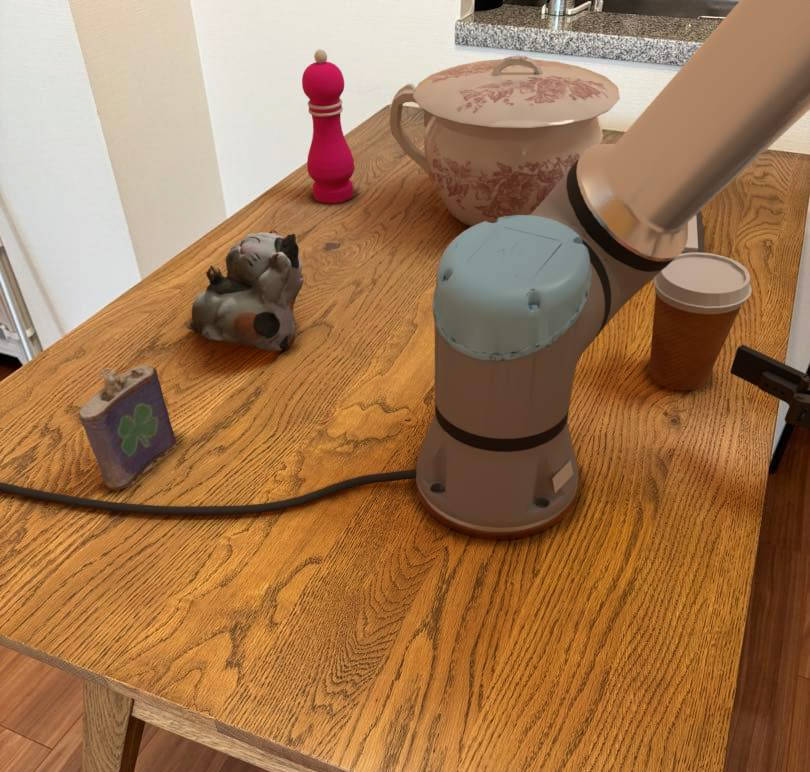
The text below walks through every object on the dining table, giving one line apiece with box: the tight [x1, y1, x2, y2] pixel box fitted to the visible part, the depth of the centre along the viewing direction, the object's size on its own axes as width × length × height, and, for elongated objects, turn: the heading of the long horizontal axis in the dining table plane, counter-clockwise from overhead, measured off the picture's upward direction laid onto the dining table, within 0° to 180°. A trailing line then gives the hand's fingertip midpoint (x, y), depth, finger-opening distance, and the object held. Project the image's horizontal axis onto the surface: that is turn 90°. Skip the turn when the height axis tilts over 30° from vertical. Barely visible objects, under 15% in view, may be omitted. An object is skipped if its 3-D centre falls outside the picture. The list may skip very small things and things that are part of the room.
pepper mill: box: [301, 48, 356, 204], centre depth 115 cm, size 7×7×20 cm
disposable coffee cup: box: [648, 252, 753, 391], centre depth 82 cm, size 10×10×12 cm
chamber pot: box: [388, 55, 621, 228], centre depth 109 cm, size 28×28×21 cm
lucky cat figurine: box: [186, 229, 305, 352], centre depth 90 cm, size 15×12×14 cm
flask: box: [78, 364, 177, 493], centre depth 74 cm, size 9×3×11 cm, turn 151°
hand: (778, 332), depth 75 cm, fingers open, 13 cm apart
